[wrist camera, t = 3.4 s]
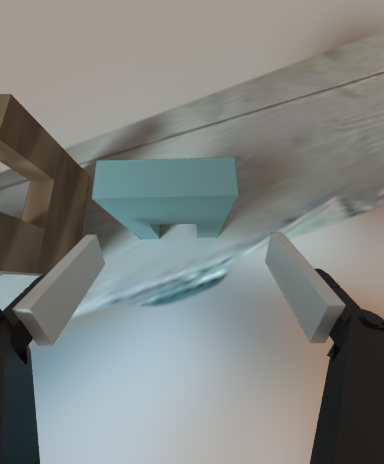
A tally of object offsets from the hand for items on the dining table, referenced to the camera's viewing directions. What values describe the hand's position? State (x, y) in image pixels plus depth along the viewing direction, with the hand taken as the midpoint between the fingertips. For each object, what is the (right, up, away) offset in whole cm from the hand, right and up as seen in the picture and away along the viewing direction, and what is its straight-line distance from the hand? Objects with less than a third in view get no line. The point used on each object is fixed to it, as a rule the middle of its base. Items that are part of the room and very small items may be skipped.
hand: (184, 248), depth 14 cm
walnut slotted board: (-15, +3, +11) cm, 19 cm away
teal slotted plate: (-1, +2, +10) cm, 11 cm away
